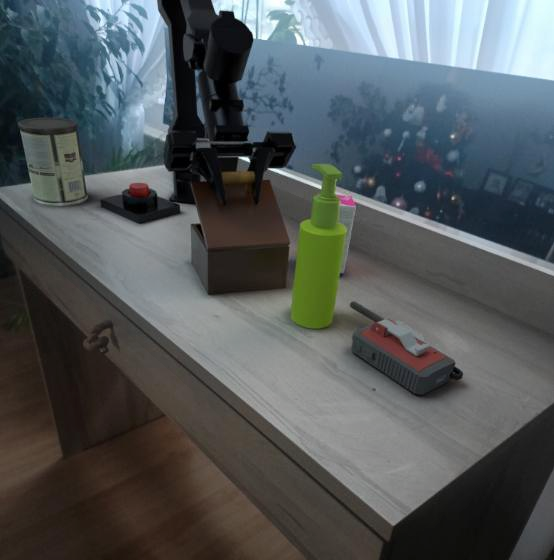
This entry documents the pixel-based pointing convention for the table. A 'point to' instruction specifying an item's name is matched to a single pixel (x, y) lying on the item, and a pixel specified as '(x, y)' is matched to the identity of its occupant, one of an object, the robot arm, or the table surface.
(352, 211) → the supplement box
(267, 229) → the lid
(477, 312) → the table surface
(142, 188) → the button
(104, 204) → the button box
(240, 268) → the chest
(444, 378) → the walkie-talkie
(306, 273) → the soap dispenser
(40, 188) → the coffee can
